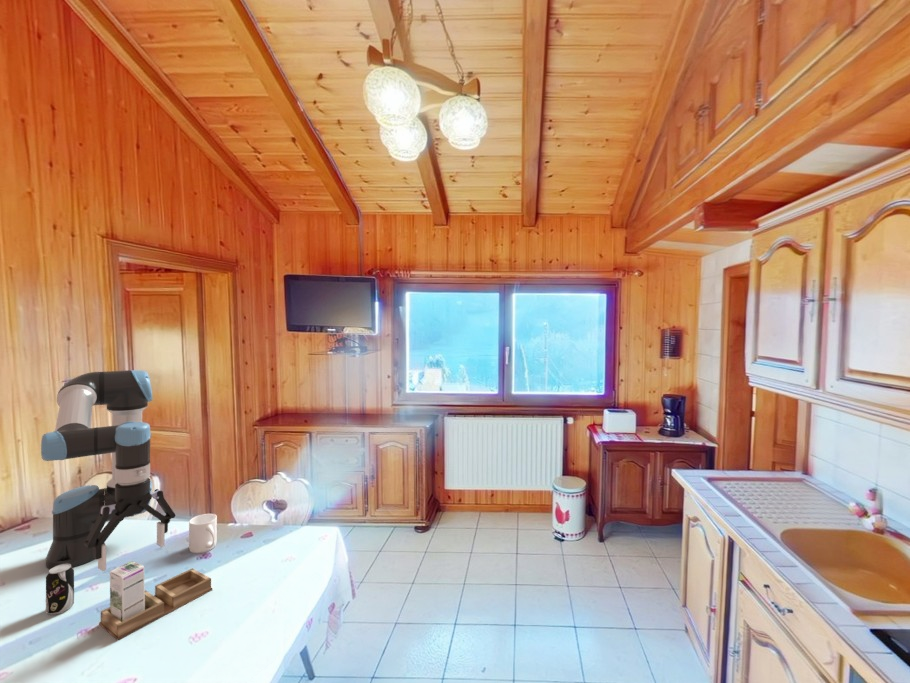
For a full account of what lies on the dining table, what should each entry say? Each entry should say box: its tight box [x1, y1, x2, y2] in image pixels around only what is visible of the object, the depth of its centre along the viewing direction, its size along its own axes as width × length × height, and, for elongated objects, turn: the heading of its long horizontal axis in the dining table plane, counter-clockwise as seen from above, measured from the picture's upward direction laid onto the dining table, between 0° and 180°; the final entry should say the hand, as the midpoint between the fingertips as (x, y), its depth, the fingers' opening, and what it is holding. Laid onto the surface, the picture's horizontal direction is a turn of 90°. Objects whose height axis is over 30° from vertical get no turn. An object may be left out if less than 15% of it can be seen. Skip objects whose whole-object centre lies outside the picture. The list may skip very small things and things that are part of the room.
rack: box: [98, 568, 213, 641], centre depth 118 cm, size 11×24×4 cm, turn 150°
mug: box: [188, 513, 218, 554], centre depth 148 cm, size 9×12×11 cm
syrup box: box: [109, 561, 146, 622], centre depth 111 cm, size 6×6×14 cm
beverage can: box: [45, 564, 75, 615], centre depth 115 cm, size 6×6×12 cm
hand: (132, 556), depth 112 cm, fingers open, 13 cm apart
